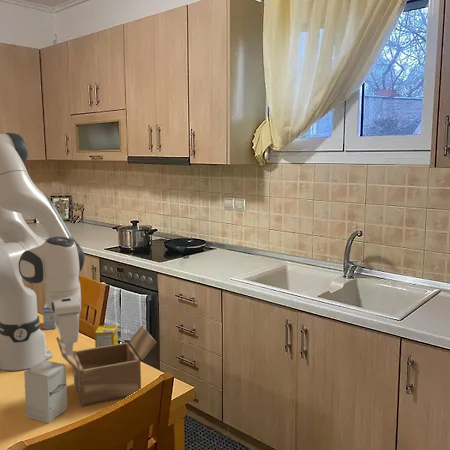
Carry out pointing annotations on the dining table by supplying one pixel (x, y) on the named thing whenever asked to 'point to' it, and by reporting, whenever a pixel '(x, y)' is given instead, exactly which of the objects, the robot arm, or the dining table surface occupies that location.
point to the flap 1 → (68, 358)
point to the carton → (106, 373)
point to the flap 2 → (142, 342)
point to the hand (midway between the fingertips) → (66, 347)
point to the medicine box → (48, 318)
